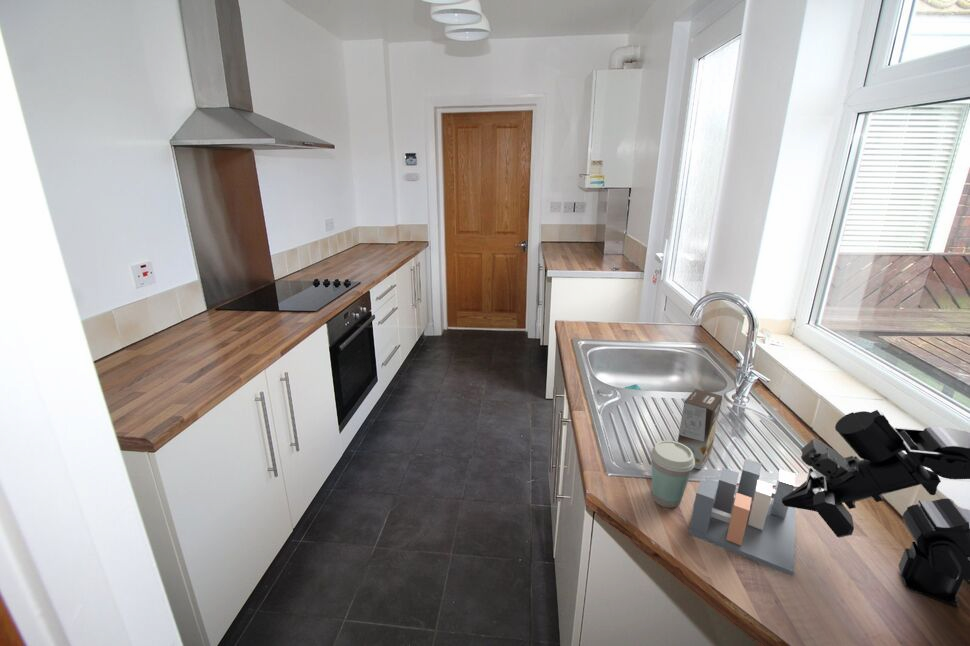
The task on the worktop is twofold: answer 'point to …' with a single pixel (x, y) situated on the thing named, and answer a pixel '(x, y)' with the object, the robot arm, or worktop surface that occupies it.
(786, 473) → the aluminium key
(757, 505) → the ivory key
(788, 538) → the grey slotted base
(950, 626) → the worktop surface
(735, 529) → the terracotta key
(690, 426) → the coffee box
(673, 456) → the coffee cup
